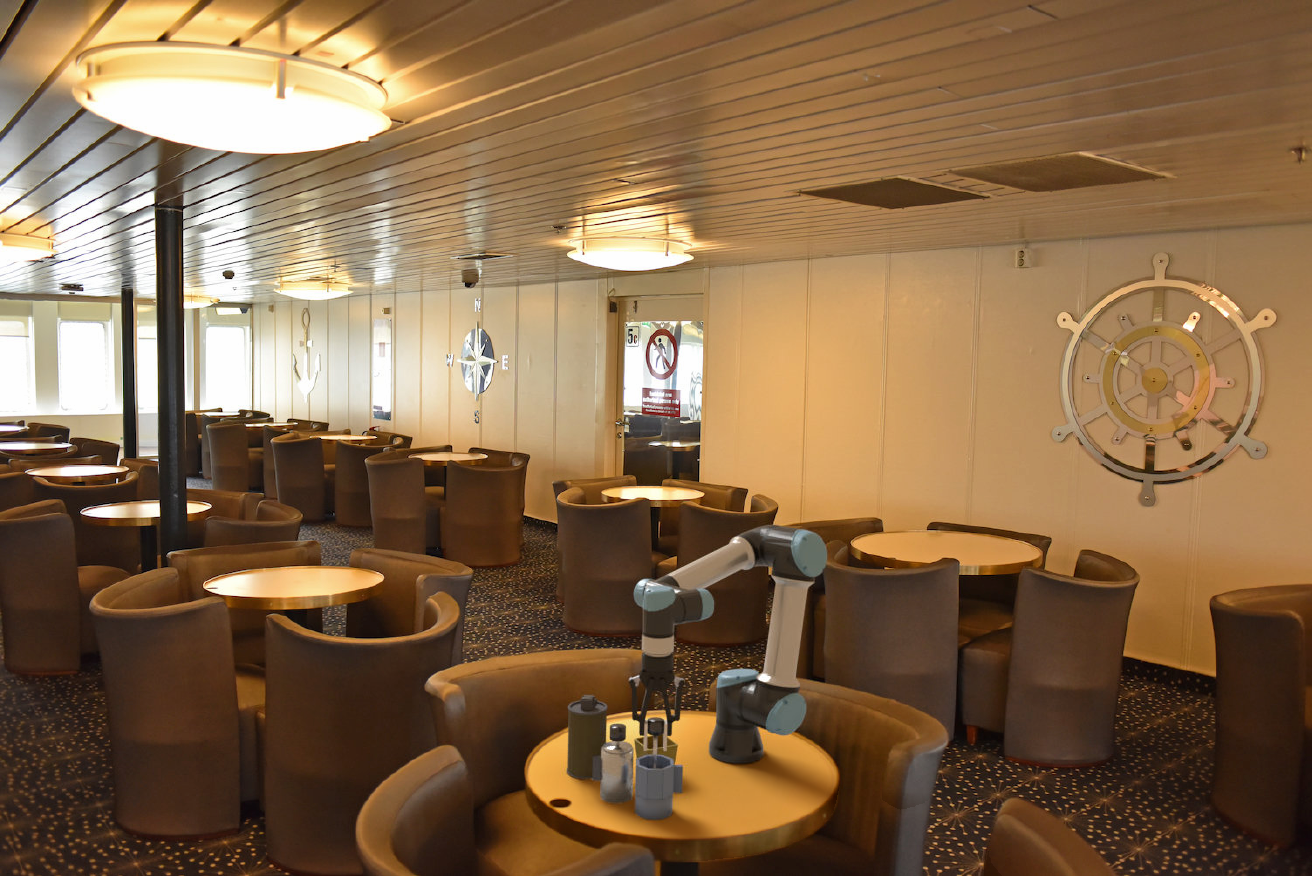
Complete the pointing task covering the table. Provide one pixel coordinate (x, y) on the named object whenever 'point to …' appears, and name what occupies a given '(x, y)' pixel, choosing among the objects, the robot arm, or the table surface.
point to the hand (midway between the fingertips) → (655, 748)
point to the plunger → (655, 735)
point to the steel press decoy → (615, 767)
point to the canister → (585, 735)
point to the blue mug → (656, 786)
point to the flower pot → (669, 753)
